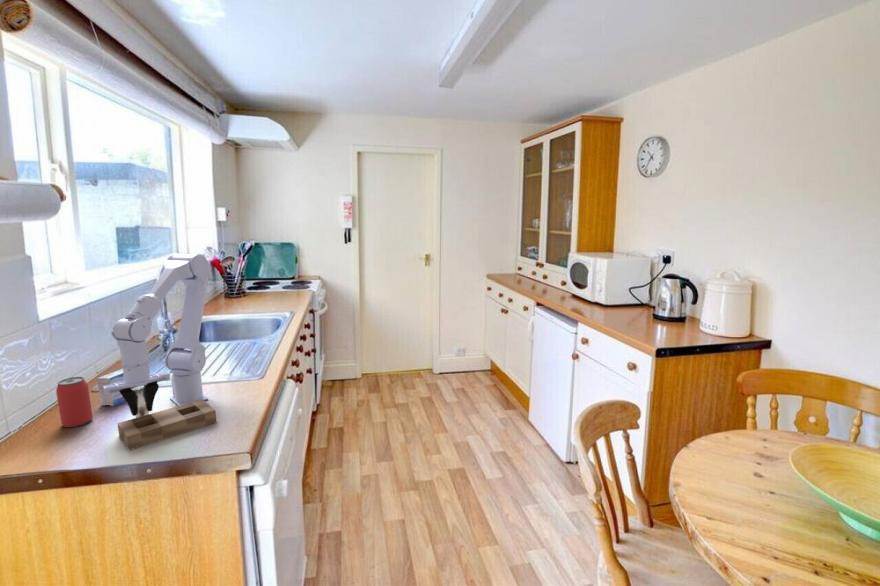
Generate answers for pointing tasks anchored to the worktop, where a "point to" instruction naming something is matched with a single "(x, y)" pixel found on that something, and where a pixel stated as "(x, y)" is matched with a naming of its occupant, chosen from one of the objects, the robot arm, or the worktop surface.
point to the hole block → (165, 424)
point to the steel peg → (140, 401)
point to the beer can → (74, 401)
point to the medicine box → (107, 380)
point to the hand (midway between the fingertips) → (141, 412)
